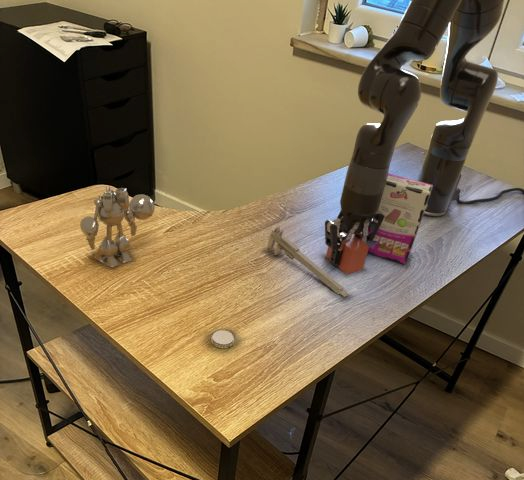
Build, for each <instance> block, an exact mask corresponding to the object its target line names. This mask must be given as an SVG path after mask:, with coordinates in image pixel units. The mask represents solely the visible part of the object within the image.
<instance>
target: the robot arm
mask: <svg viewBox="0 0 524 480" xmlns="http://www.w3.org/2000/svg"><path fill="white" fill-rule="evenodd" d="M504 3H505V0H411V1H410V3H409V5H408V7H407V8H406V10H405V12H404V14H403V16H402V18H401V20H400V22H399V25H398V26H397V28H396V30H395V31H394V33H393V34H392V35H391V36H390V38H389V39H388V40H387V41H386V42H385V43H384V45H383V46H382V47H381V49H380V50H379V51H377V54H376V55H375V56H374V57H373V58H372V60H371V61H370V62H369V63H368V64H367V65H366V67H365V68H364V70H363V71H362V73H361V76H360V79H359V82H358V85H357V96H358V100H359V102H360V103H361V104H362V105H363V106H364V107H366V108H368V109H370V110H373V111H375V112H377V113H380V114H381V115H383V118H382V121H381V123H372V122H370V123H365V124H363V125H361V127H359V129H358V131H357V135H356V138H355V142H354V147H353V151H352V154H351V158H350V161H349V164H348V167H347V170H346V175H345V179H344V183H343V187H342V191H341V196H340V200H339V205H340V211H339V213H338V215H337V217H336V219H333V220H330V219H326V220H325V221H324V243H325V245H326V246H327V247H328V246H329V247H330V248H331V249H332V252H331V257H330V260H329V261H330V262H331V264H333V265H334V266H335V267H337V266H339V265H340V262H341V258H342V254H343V249H344V247H345V245H346V243H347V242H349V241H350V240H351V238H352V236H353V234H354V235H355V236H356V237H358V238H359V239H360V240H361V241H363V242H364V243H365V244H366V242H367V241H370V242H371V241H372V240H373V239H374V237H375V235H376V233H377V231H378V229H379V227H380V225H381V223H382V221H383V219H384V217H385V216H384V215H383V214H382V213H380V212H379V211H378V209H379V206H380V202H381V199H382V195H383V192H384V188H385V185H386V181H387V178H388V173H389V171H390V166H391V162H392V158H393V156H394V153H395V148H396V146H397V143H398V141H399V139H400V137H401V135H402V133H403V131H404V130H405V129H406V126H407V124H408V123H409V121H410V120H411V118H412V116H413V115H414V113H415V111H416V109H417V107H418V106H419V103H420V101H421V96H422V85H421V83H420V82H421V81H420V79H419V78H418V77H417V76H416V75H415V74H414V73H411V72H408V71H406V70H403V69H402V68H403V66H405V65H406V64H407V63H409V62H412V61H413V62H414V61H419V62H420V61H421V62H423V61H426V60H429V59H430V58H431V57H432V56H433V54H434V53H435V51H436V49H437V48H438V46H439V43H440V42H441V40H442V38H443V36H444V34H445V33H446V31H447V29H448V36H447V46H446V54H445V60H444V64H443V70H442V75H441V80H440V87H439V99H440V102H441V103H442V104H443V105H445V106H447V107H449V108H453V109H456V110H459V111H461V112H464V113H465V114H466V115H465V117H463V118H460V119H455V120H443V121H439V122H438V123H436V124H435V126H434V128H433V131H432V134H431V137H430V141H429V143H428V146H427V149H426V152H425V156H424V159H423V162H422V165H421V167H420V169H419V173H418V177H417V179H416V181H420V182H423V183H427V184H431V185H433V187H432V190H431V193H430V196H429V199H428V202H427V205H426V208H425V211H424V214H423V216H428V217H442V216H444V215H445V214H447V212H448V211H449V209H450V208H451V204H452V202H456V203H457V204H459V205H471V204H477V203H485V202H491V201H495V200H499V198H501V196H502V195H504V194H506V193H511V192H517V191H518V192H521V193H522V194H523V195H524V188H520V187H514V188H513V187H512V188H507V189H503V190H501V191H500V192H499V193H498V194H497V195H496V196H492V197H488V198H477V199H473V200H467V201H464V200H460V194H461V191H462V189H461V188H460V187H458V186H459V184H460V181H461V179H462V171H463V168H464V165H465V163H466V160H467V158H468V156H469V153H470V150H471V147H472V145H473V142H474V139H475V137H476V134H477V132H478V130H479V127H480V125H481V122H482V120H483V118H484V115H485V113H486V110H487V108H488V106H489V104H490V102H491V99H492V98H493V95H494V92H495V90H496V87H497V85H498V79H499V73H498V71H497V70H496V69H495V68H493V67H489V66H485V65H481V64H478V63H474V62H471V61H468V60H467V59H466V57H467V55H468V53H470V52H471V50H472V49H474V48H475V47H476V46H477V45H478V44H480V43H481V42H482V41H483V40H484V39H485V38H486V37H487V36H489V35H490V34H491V33H492V31H493V30H494V29H495V27H496V26H497V25H498V23H499V22H500V19H501V17H502V14H503V10H504ZM370 228H371V229H372V231H371V233H370V234H369V233H368V232H369V230H370ZM342 231H343V232H344V233H346V234H347V235H345V234H343V232H342ZM340 238H341V243H338V242H339V240H340Z"/></svg>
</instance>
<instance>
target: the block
mask: <svg viewBox="0 0 524 480" xmlns="http://www.w3.org/2000/svg"><path fill="white" fill-rule="evenodd" d="M342 232H343V231H342ZM343 234H345V235H347V234H346V233H344V232H343ZM338 243H341V238H340V240H339V242H338ZM368 249H369V246H368V245H367V244H365V243H364V242H363V241H361V240H360V239H359V238H358V237H356V236H355V235H354V234H353V236H352V238H351V240H350V241H349V242H347V243H346V245H345V247H344V249H343V254H342V258H341V262H340V265H339V266H336V267H337V268H338V269H339V270H340V271H342V272H343V273H344V275H349V274H353V273H356V272H360V271H363V269H364V266H365V263H366V260H367V259H366V258H367V256H368V253H367V252H368ZM331 252H332V249H331V248H330V247H329V246H327V250H326V253H325V257H326V259H328V260H329V261H330V257H331Z"/></svg>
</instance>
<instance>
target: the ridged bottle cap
mask: <svg viewBox="0 0 524 480" xmlns="http://www.w3.org/2000/svg"><path fill="white" fill-rule="evenodd" d="M210 342H211V344H212V345H213V346H215V347H216V348H219V349H228V348H230V347H233V346H234V345H235V343H236V336H235V334H234V333H233V332H232V331H230V330H228V329H217V330H215V331H213V332H212V333H211V335H210Z"/></svg>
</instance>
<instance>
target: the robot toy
mask: <svg viewBox="0 0 524 480" xmlns="http://www.w3.org/2000/svg"><path fill="white" fill-rule="evenodd" d="M93 204H94V205H95V210H94V215H93V216H90V215H89V216H85V217H83V218H82V219H81V221H80V223H79V228H80V231H81V233H82V234H83V235H84V236H85V237H86V238H85V241H87V243H88V245H89V248H90V250H91V251H94V250H96V251H95V252H94V256H93V258H94V259H95V260H97V261H98V262H99V263H100V264H101V263H102V264H104V265H106V266H108V267H110V268H115V267H117V266H120V265H121V263H122V264H126V263H130V262H131V261H132V260H133V259H132V257H131V256H130V254H129V252H128V251H129V250H130V249H131V242H130V240H129V238H128V237H126V235H125V234H124V230H123V225H122V222H123V220H125V221H126V222H127V225H128V226H129V227H130V237H131V238H132V237H135V236H136V235H137V234H136V233H137V229H138V227H137V226H138V225H137V224H136V219H137V220H139V221H146V220H148V219H150V218H151V217H152V216H153V215H154V214H155V210H156V209H155V208H156V206H155V202H154V200H153V199H152V198H151V197H150V196H149V195H147V194H143V193H142V194H136V195H134V196H133V197H131V199H130V198H129V193H128V191H127V188H125V187H119V188H116V190H113V189H111V187H110V185H109V186H108V187H107V186H105V191H104V192H103V194H102V195H98V198H94V200H93ZM98 221H100V222H101V223H102V224H104V225H105V226H106V233H105V234H106V235H105V236H104V237H103V240H102V241H101V243H100V245H98V248H97V247H96V245H95V244H96V243H95V241H96V237H97V236H98V232H99V227H100V223H99V222H98ZM113 227H116V229H117V230H116V231H117V233H116V235H115V237H114V239H112V237H113V236H112V234H113ZM115 256H116V257H118V260H119V261H118V260H117V259H116V258H115Z"/></svg>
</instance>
